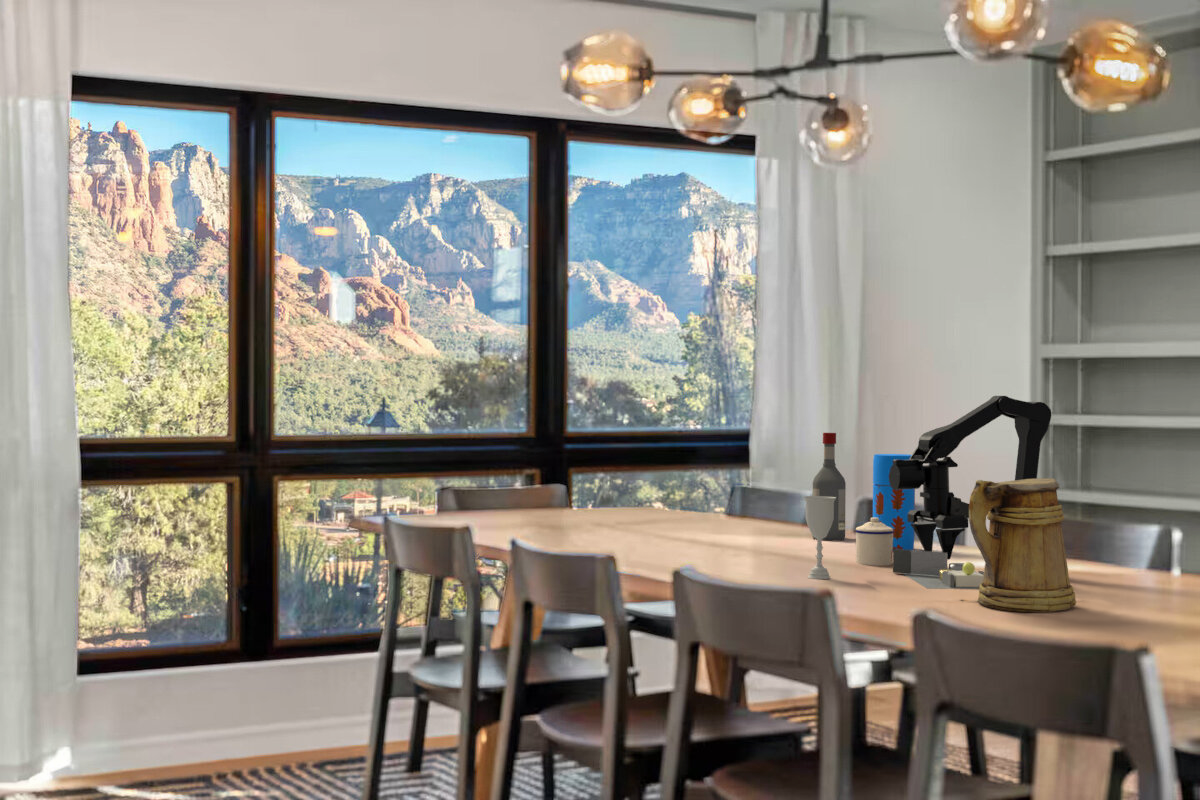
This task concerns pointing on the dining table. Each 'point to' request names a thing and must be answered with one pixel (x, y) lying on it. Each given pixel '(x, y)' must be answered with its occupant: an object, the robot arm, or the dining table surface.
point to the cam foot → (967, 576)
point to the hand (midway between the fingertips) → (938, 557)
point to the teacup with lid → (874, 544)
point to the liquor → (832, 487)
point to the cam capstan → (922, 562)
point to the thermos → (893, 501)
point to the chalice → (819, 528)
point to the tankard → (1021, 545)
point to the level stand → (938, 581)
